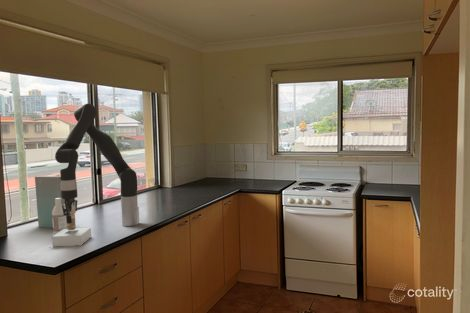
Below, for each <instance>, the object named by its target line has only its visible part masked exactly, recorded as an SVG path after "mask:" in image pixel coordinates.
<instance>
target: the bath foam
mask: <svg viewBox="0 0 470 313" xmlns="http://www.w3.org/2000/svg"><path fill="white" fill-rule="evenodd" d="M65 213H66V212H65ZM52 222H53V228H52V234H53V235H52V236H54V235H55V234H57V233H58V232H60V231H61V230H63V229H67V220H66V216H64V213H63V209H62V205H61V198H55V207H54V209H53V211H52Z"/></svg>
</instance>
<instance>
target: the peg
mask: <svg viewBox="0 0 470 313" xmlns="http://www.w3.org/2000/svg"><path fill="white" fill-rule="evenodd" d="M69 210H70V209H69ZM75 212H76V211H75V209H74V205H73V210H72V212H71V219H72V223H67V230H74V229H76V228H77V226H76V213H75Z"/></svg>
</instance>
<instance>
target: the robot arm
mask: <svg viewBox="0 0 470 313" xmlns="http://www.w3.org/2000/svg"><path fill="white" fill-rule="evenodd" d="M73 114H74V115H73V116H74V119H75V120H76V121H77V123H76V124H75V125H74V126H73V127H72V129H71V130H70V131H69V133H68V135H67V138H65V139H66V140H65V141H64V142H63V143H62V144H61V145H60V146H59V148H57V150H56V151H55V154H54V158H55V161H56V162H57V163H58V164H68V165H67V167H63V168H61V169H60V172H59V176H61V198H62V199H65V203H64V205H62V209H63V213H64V216H66V219H67V223H72V219H71V212H72V210H73V205H74V209H75V214H76V212H77V211H78V200H77V198H78V184H77V183H78V182H77V176H76V171H77V165H78V160H79V154H78V151H77V150H78V149H79V147H80V146H81V143H82V141H83V138H84V137H85V135H86V133H87V135H88V137H90V139H91V140H92V141H93V143H94V144H95V145H96V148H98V150H99V152H100V153H101V154H102V155H103V157H104V159H106V161H108V163H109V164H110V165H111V166H112V167H113V169H114V170H115V173H116V175H117V176H118V178H119V180H120V207H121V210H120V211H121V224H122V225H121V226H124V227H134V226H138V225H139V224H140V210H139V209H140V208H139V206H138V174H137V172H136V171H135V170H134V169H133V168H131V167H130V166H129V165H128V163H127V162H126V160H124V158H123V156H122V153H121V151H120V149H119V147H118V146H117V144H116V143H115V141H114V140H113V138H112V137H111V135H109V134H108V133H106V132H104V131H102V130H100V129H99V128H98V127H97V126H95V124H94V123H93V122H94V120H95V119H96V117H97V115H98V110H97V108H96V106H95V105H94V104H93V103H90V102H88V103H85V104H81V106H79V107H77V108H76V109H75V110H74V111H73ZM69 209H70V210H69ZM65 212H66V213H65Z"/></svg>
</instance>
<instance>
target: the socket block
mask: <svg viewBox="0 0 470 313" xmlns="http://www.w3.org/2000/svg"><path fill="white" fill-rule="evenodd" d="M90 237H91V238H92V227H76V229H74V230H67V229H63V230H61V231H60V232H58V233H57V234H55V235H52V236H51V241H52V242H51V243H52V247H71V246H72V247H73V246H75V245H79V246H82V244H83V243H84V242H85V243H86V242H87V241H88V240H90V239H91V238H90ZM89 238H90V239H89ZM85 243H84V244H85Z"/></svg>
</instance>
